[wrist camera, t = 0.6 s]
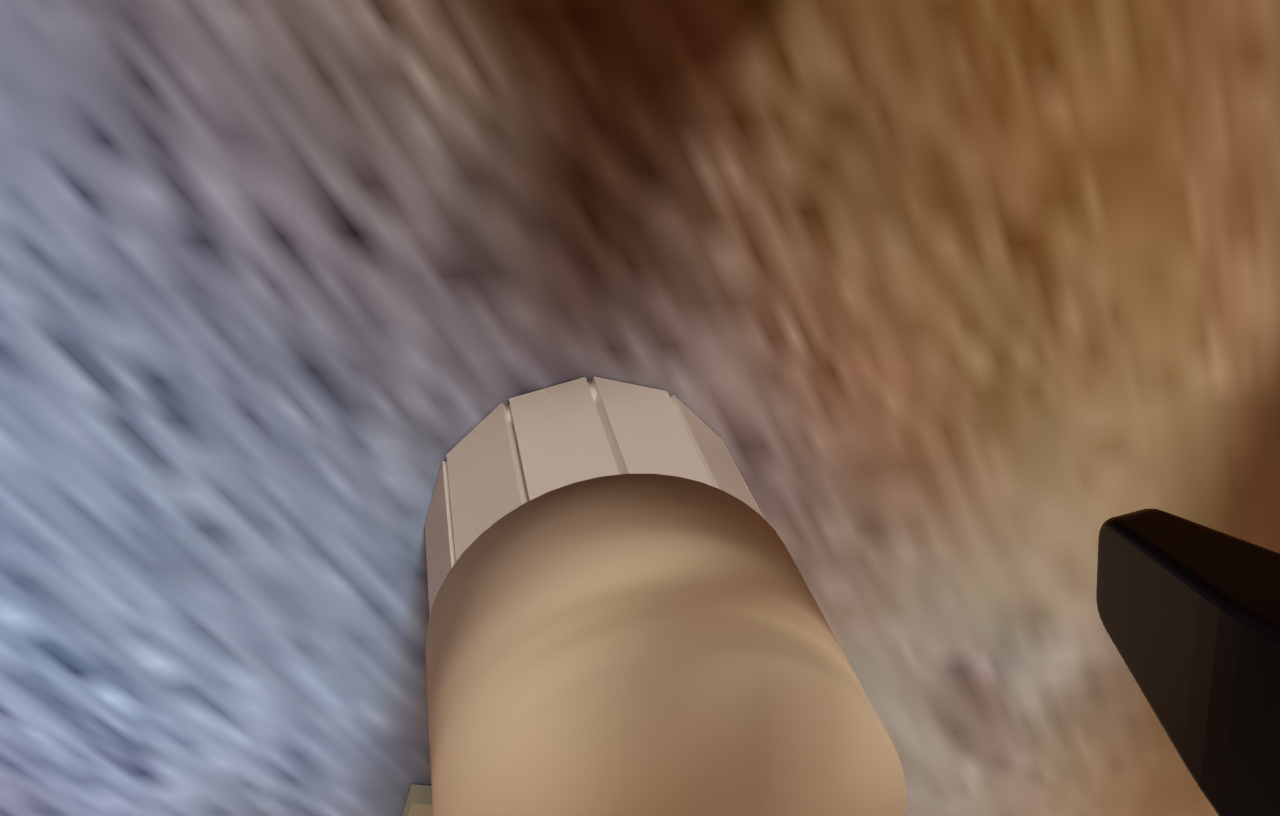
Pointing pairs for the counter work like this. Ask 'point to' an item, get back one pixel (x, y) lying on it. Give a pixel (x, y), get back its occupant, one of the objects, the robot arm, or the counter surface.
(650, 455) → the bowl
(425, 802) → the mat
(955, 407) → the counter surface
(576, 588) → the beige rounded cylinder
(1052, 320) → the counter surface
